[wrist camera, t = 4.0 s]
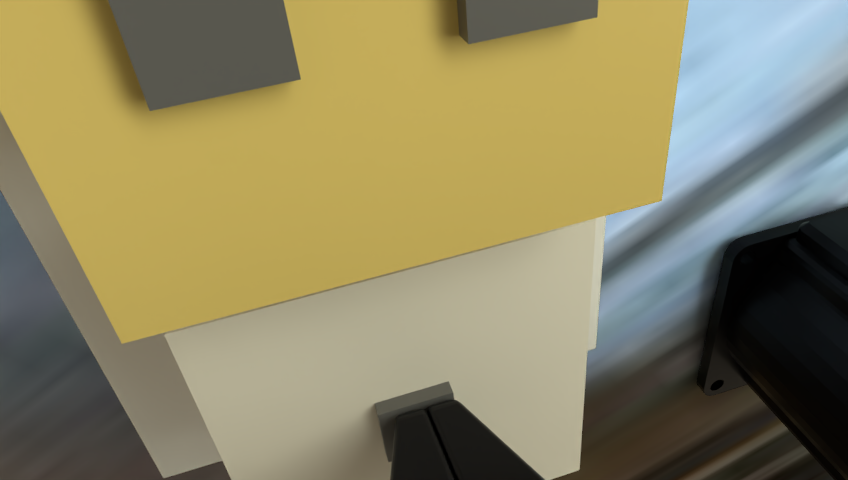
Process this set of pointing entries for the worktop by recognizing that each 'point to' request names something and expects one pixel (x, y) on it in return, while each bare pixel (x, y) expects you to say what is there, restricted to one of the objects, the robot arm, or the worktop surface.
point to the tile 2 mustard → (326, 135)
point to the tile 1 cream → (402, 362)
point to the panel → (148, 357)
